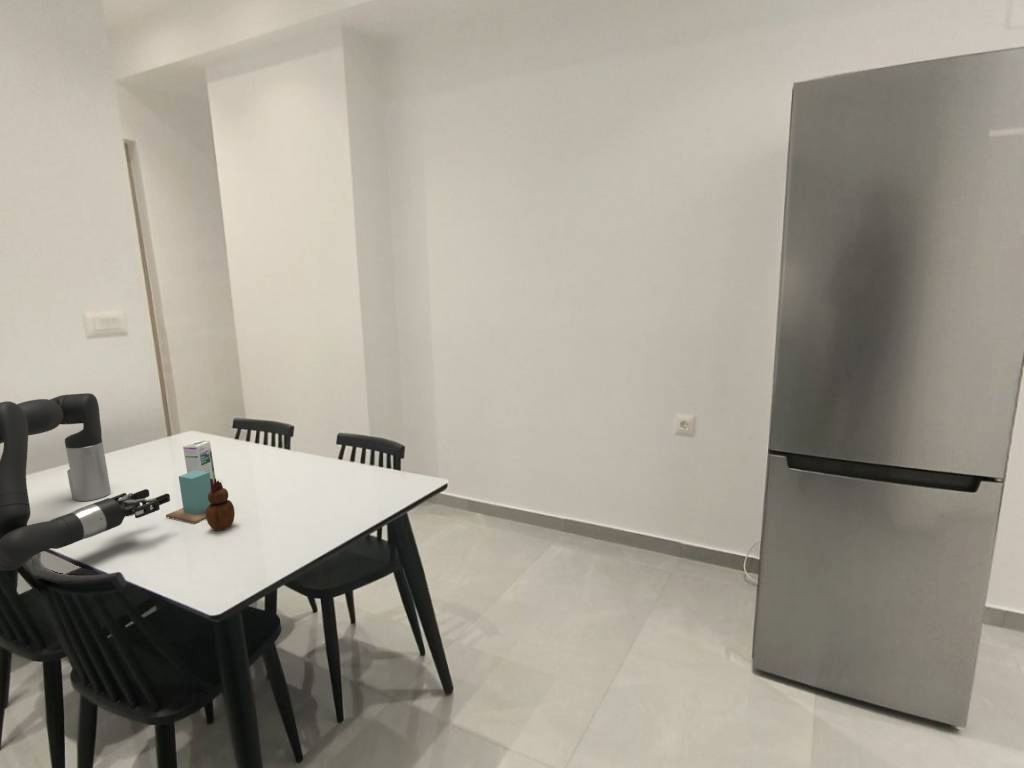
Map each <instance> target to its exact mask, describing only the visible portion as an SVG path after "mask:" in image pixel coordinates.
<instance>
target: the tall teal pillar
mask: <svg viewBox="0 0 1024 768" xmlns="http://www.w3.org/2000/svg"><path fill="white" fill-rule="evenodd" d="M178 481H179V489H180V495H181V502H182V508H183V510H184V512H185V513H189V514H194V515H199V514H201V513H203V512H206V509H207V507H208V506H209V505H210V504H211V503H210V502H209V500H208V494H209V492H210V491H211V484H210V472H205V471H199V470H195V471H192V472H190V473H187V472H186V473H184V474H181V475H178Z"/></svg>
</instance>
